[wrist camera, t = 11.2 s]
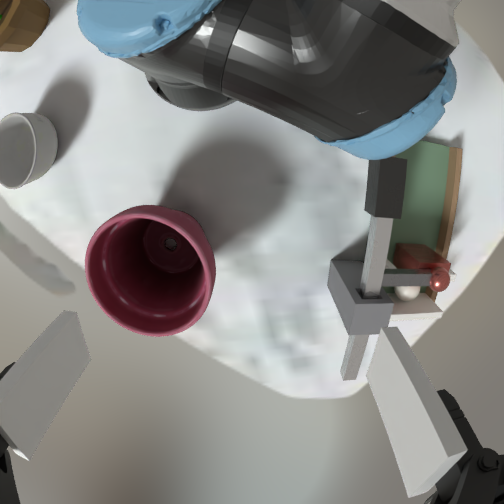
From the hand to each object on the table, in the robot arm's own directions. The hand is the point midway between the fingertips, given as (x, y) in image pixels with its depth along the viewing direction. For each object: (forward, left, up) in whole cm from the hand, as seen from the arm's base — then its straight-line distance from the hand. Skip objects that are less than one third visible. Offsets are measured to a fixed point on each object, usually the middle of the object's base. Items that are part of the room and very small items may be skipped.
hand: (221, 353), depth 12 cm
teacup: (-10, -34, -29) cm, 46 cm away
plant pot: (+5, -10, -29) cm, 31 cm away
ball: (+10, +23, -25) cm, 35 cm away
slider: (+6, +19, -27) cm, 33 cm away
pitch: (+1, +20, -29) cm, 35 cm away
